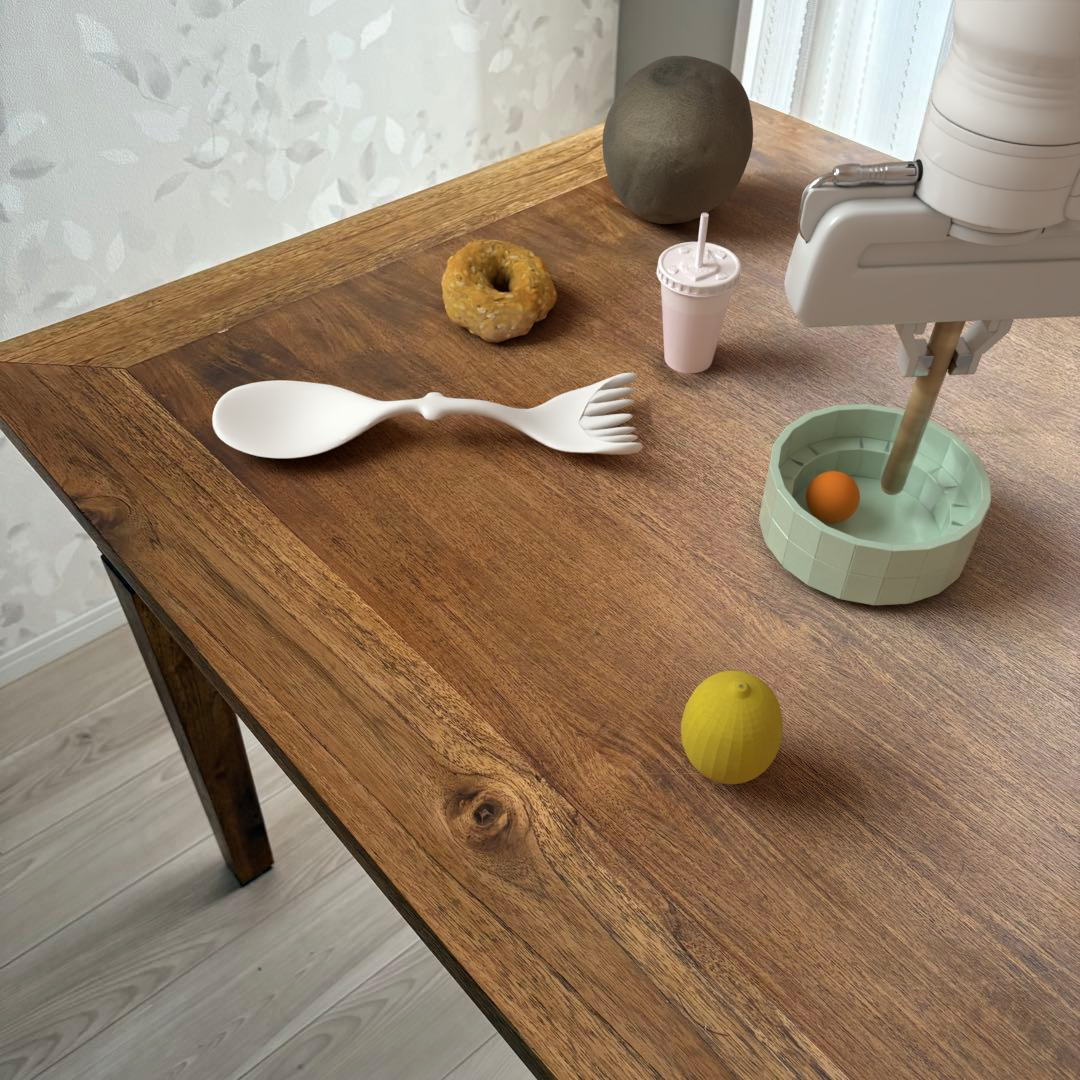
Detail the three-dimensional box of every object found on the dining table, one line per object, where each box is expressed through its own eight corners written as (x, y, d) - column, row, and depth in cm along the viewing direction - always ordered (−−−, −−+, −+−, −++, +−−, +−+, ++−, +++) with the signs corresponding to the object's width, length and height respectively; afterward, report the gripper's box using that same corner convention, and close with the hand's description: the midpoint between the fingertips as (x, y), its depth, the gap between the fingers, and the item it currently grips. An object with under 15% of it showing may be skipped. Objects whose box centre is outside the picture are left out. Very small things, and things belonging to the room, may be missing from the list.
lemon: (655, 767, 65) (667, 685, 59) (716, 712, 67) (732, 628, 61) (730, 828, 62) (750, 748, 56) (790, 768, 64) (814, 685, 59)
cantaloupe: (566, 214, 108) (569, 59, 97) (670, 169, 114) (684, 18, 103) (669, 277, 100) (685, 116, 89) (774, 224, 106) (801, 68, 96)
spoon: (640, 478, 82) (643, 443, 79) (206, 473, 82) (196, 437, 79) (635, 401, 88) (638, 366, 85) (232, 396, 88) (223, 361, 86)
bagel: (440, 348, 93) (436, 300, 89) (445, 275, 100) (442, 228, 97) (559, 347, 93) (559, 298, 89) (555, 274, 100) (555, 226, 97)
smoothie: (641, 383, 89) (655, 227, 79) (655, 338, 94) (669, 184, 84) (721, 395, 88) (744, 239, 78) (731, 348, 93) (754, 194, 83)
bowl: (928, 462, 83) (950, 399, 78) (995, 607, 73) (1024, 544, 69) (740, 471, 82) (751, 408, 78) (782, 618, 72) (797, 555, 68)
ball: (868, 491, 78) (828, 459, 78) (873, 495, 74) (831, 461, 75) (834, 531, 78) (794, 498, 79) (837, 536, 75) (795, 502, 75)
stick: (901, 484, 77) (991, 240, 62) (901, 501, 76) (993, 257, 61) (877, 481, 78) (962, 237, 62) (877, 498, 77) (963, 253, 61)
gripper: (822, 196, 56) (779, 410, 66) (1216, 182, 57) (1115, 395, 67) (793, 137, 60) (757, 346, 70) (1159, 125, 61) (1072, 333, 71)
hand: (934, 370), depth 68 cm, fingers closed on stick, 1 cm apart
